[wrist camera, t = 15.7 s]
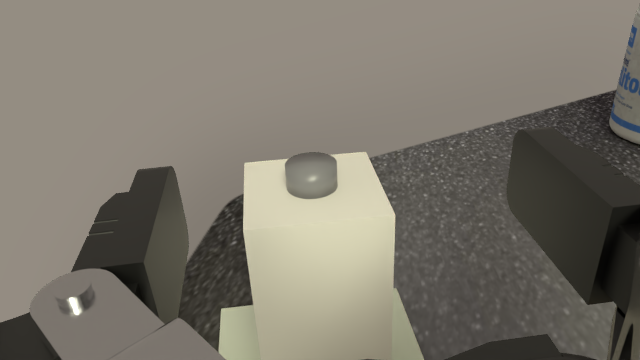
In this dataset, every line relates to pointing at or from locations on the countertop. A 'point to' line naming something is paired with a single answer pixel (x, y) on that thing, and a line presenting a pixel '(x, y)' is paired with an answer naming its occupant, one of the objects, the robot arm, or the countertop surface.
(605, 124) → the countertop surface
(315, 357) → the cover
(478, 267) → the countertop surface
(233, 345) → the mat
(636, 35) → the supplement tub
